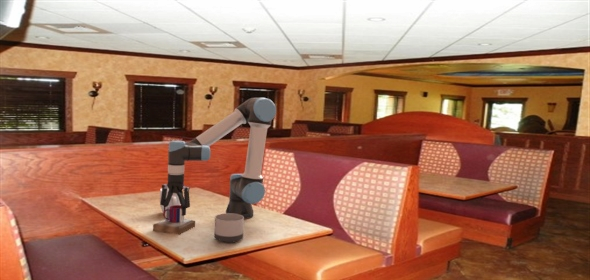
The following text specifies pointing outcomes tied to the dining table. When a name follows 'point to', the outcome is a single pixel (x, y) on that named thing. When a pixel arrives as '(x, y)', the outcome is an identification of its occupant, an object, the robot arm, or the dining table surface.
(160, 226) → the stand
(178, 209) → the cup
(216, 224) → the planter
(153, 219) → the dining table surface
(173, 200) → the mug
